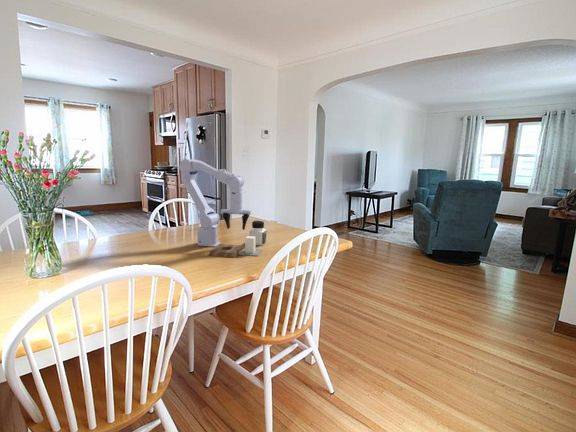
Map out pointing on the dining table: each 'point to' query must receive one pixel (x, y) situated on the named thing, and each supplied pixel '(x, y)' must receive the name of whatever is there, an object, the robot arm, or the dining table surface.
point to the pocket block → (226, 250)
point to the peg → (250, 244)
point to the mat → (250, 253)
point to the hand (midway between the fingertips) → (236, 228)
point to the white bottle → (258, 232)
